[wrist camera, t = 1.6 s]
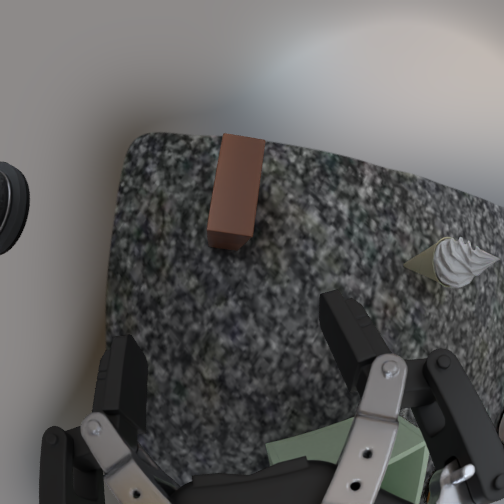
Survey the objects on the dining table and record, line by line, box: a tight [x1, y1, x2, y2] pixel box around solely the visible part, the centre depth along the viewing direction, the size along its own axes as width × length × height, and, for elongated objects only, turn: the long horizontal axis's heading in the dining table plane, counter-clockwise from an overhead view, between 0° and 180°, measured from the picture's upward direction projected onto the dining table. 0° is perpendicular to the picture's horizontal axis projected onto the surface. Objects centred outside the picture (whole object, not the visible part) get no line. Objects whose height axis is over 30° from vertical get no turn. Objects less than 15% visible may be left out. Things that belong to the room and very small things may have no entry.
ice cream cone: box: [403, 237, 500, 288], centre depth 25 cm, size 5×5×15 cm
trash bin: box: [265, 415, 429, 504], centre depth 24 cm, size 16×16×10 cm
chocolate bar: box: [207, 133, 265, 251], centre depth 24 cm, size 3×7×11 cm, turn 172°
